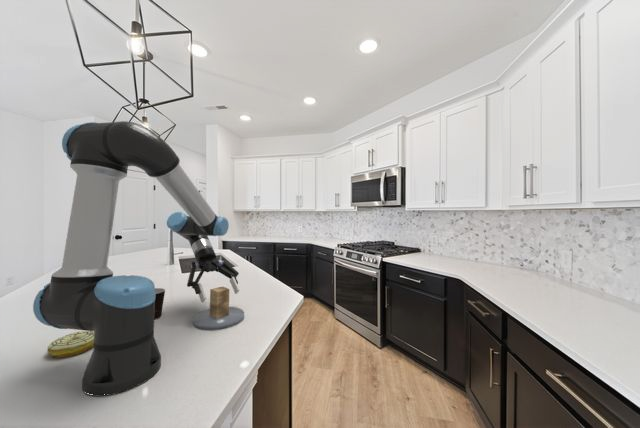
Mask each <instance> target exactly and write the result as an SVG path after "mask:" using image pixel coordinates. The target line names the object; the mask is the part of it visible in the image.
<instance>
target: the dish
mask: <svg viewBox="0 0 640 428" xmlns="http://www.w3.org/2000/svg"><path fill="white" fill-rule="evenodd" d="M244 319H245V311H244V310H243V309H241V308H239V307H235V306H229V315H228V316H225V317H222V318H219V319H215V318H213V317H211V316H210V308H208V309H205V310H202V311H200V312H198V313H197V314H196V315H194V316H193V318H192V325H193V327H194V328H196V329H199V330H202V331H219V330H224V329H228V328H231V327H234V326H237V325H238V324H240V323H241V322H242V321H243V320H244Z"/></svg>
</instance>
